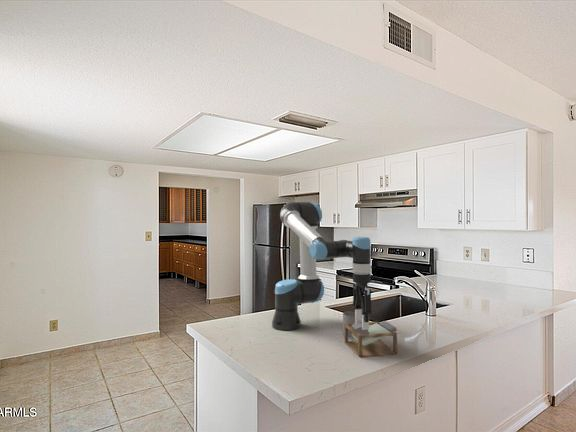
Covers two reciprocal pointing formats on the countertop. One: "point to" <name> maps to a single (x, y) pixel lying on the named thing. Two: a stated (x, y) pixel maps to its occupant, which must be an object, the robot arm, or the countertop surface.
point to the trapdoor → (377, 331)
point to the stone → (359, 329)
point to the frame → (372, 348)
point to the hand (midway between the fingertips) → (362, 326)
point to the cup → (348, 321)
